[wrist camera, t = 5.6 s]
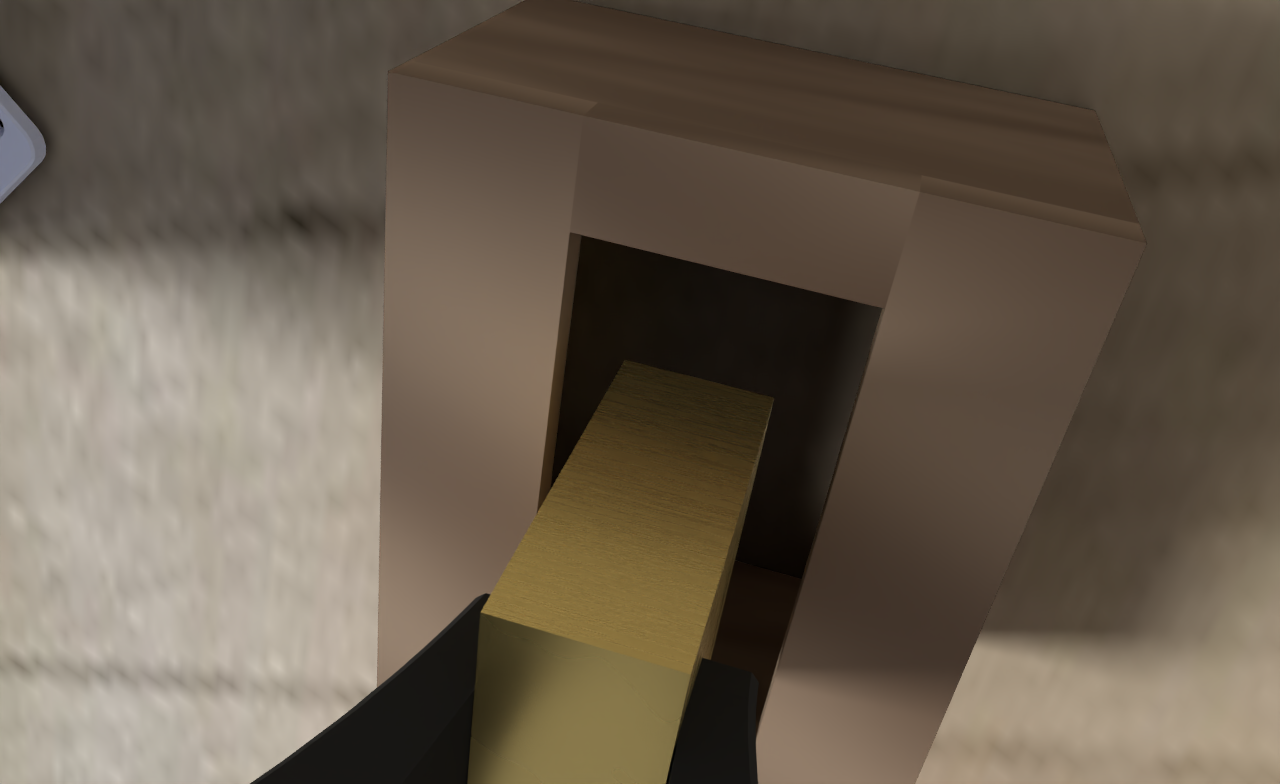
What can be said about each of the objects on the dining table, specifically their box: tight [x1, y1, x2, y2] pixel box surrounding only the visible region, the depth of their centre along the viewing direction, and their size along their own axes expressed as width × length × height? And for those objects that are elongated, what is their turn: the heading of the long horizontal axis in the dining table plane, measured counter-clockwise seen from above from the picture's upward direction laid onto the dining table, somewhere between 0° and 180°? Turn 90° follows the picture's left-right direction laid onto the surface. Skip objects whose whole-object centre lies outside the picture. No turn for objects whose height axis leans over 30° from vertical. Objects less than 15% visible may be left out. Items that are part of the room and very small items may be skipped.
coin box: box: [377, 0, 1147, 784], centre depth 18 cm, size 11×9×6 cm
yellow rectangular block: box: [467, 360, 774, 784], centre depth 13 cm, size 5×2×5 cm, turn 172°
